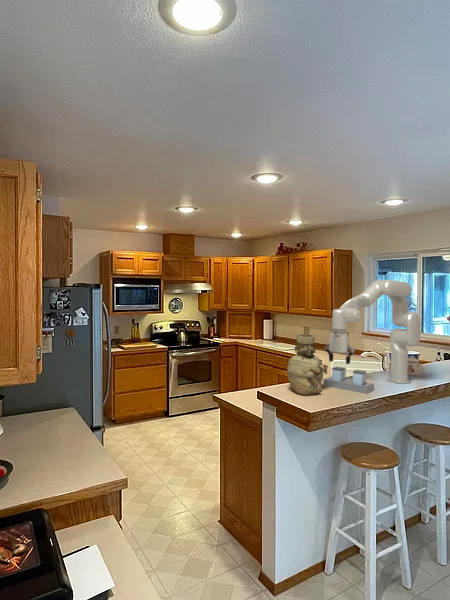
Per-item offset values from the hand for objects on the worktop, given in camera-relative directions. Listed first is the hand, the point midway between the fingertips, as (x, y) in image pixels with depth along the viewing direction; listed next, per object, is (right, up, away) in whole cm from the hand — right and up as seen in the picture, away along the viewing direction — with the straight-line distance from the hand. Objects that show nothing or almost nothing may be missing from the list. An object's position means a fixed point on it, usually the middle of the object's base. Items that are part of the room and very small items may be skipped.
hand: (339, 362), depth 218 cm
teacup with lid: (+60, -14, +39) cm, 73 cm away
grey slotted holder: (+4, -15, -4) cm, 15 cm away
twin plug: (+8, -13, -8) cm, 17 cm away
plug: (-1, -13, 0) cm, 13 cm away
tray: (+8, -14, +10) cm, 19 cm away
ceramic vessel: (-20, -15, -7) cm, 26 cm away
